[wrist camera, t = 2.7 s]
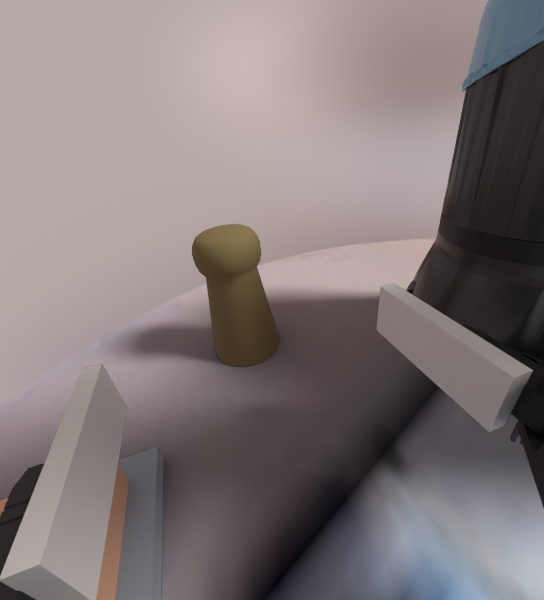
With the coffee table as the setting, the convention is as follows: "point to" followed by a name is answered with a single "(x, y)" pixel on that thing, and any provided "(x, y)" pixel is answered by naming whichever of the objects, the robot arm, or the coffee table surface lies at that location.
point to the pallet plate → (133, 530)
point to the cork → (236, 294)
